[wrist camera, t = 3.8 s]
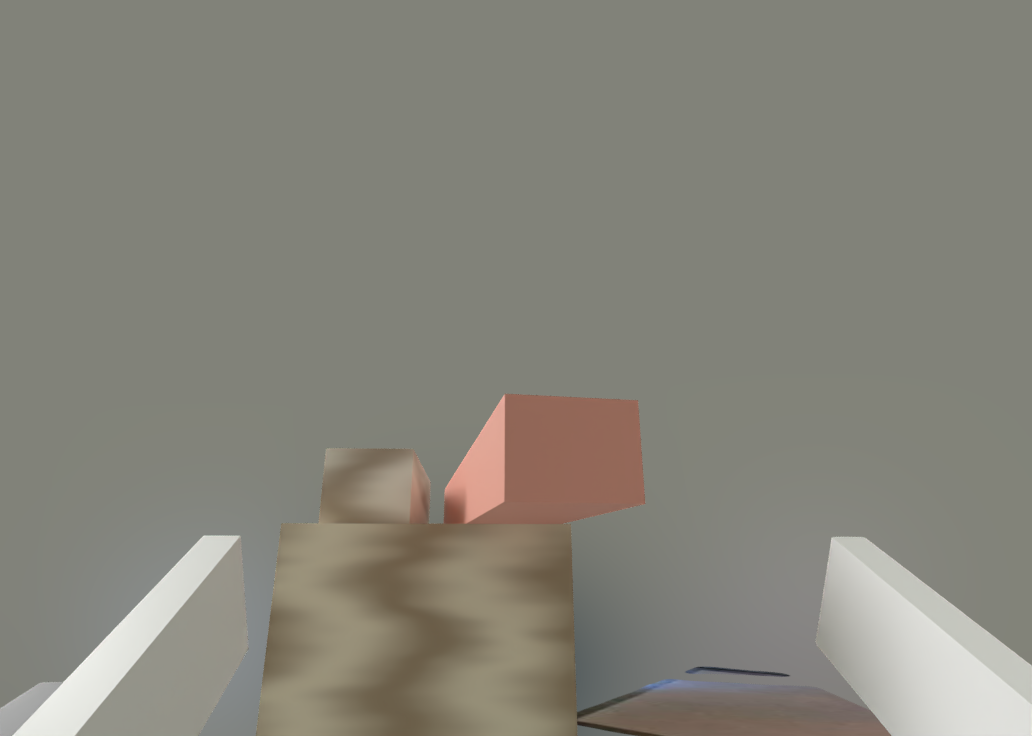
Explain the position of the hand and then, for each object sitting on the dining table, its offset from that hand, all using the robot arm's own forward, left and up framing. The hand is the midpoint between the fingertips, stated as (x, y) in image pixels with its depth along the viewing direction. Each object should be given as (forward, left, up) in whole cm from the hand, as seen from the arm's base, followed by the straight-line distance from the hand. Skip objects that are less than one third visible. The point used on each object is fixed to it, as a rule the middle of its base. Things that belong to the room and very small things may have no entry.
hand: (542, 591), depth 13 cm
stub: (0, +14, +2) cm, 14 cm away
